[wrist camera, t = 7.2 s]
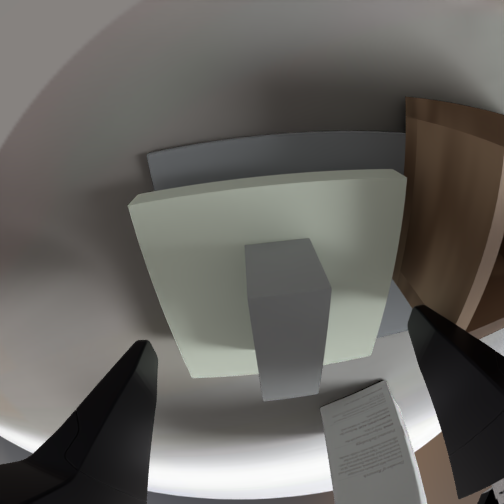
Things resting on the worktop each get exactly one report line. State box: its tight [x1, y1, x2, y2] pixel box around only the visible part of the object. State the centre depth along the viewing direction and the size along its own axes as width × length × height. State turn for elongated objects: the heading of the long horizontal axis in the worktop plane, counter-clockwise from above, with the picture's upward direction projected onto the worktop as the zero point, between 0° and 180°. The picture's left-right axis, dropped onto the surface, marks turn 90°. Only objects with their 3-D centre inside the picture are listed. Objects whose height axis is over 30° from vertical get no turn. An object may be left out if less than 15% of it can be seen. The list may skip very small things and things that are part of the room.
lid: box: [128, 169, 407, 401], centre depth 10 cm, size 9×9×4 cm
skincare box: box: [320, 381, 427, 504], centre depth 14 cm, size 8×6×15 cm
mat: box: [147, 131, 412, 338], centre depth 12 cm, size 11×16×1 cm
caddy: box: [392, 97, 504, 339], centre depth 8 cm, size 8×8×5 cm
